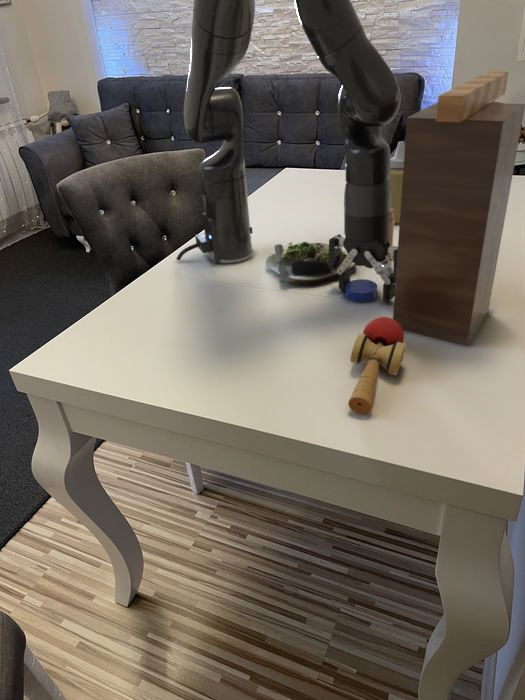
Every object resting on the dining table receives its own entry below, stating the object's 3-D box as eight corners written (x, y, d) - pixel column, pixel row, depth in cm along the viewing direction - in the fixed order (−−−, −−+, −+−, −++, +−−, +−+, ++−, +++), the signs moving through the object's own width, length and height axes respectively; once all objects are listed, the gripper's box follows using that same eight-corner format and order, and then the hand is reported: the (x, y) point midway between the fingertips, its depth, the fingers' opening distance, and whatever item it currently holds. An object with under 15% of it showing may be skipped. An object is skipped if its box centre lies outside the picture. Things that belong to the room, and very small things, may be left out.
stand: (467, 345, 81) (503, 120, 64) (392, 327, 87) (406, 117, 70) (488, 311, 89) (525, 103, 72) (418, 297, 95) (437, 102, 78)
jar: (375, 263, 109) (377, 215, 103) (362, 255, 113) (364, 208, 107) (396, 258, 110) (400, 210, 104) (383, 250, 114) (386, 204, 108)
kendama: (395, 427, 69) (416, 340, 81) (387, 391, 65) (410, 306, 78) (337, 423, 72) (366, 340, 85) (327, 389, 69) (358, 308, 81)
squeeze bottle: (416, 224, 125) (423, 144, 115) (381, 227, 126) (386, 147, 116) (409, 213, 132) (415, 136, 122) (376, 215, 132) (379, 139, 123)
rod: (460, 122, 65) (463, 95, 63) (435, 121, 66) (438, 95, 65) (505, 94, 80) (508, 71, 78) (484, 93, 81) (487, 71, 80)
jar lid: (355, 285, 101) (355, 276, 100) (382, 293, 98) (383, 283, 97) (339, 297, 97) (339, 288, 96) (366, 305, 94) (367, 296, 93)
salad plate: (244, 262, 114) (242, 241, 111) (313, 241, 121) (313, 222, 118) (292, 295, 99) (291, 272, 97) (368, 270, 106) (369, 248, 104)
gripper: (417, 206, 87) (411, 296, 95) (341, 197, 95) (342, 281, 103) (396, 220, 82) (392, 313, 90) (318, 209, 90) (321, 296, 98)
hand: (365, 296), depth 97 cm, fingers open, 8 cm apart
